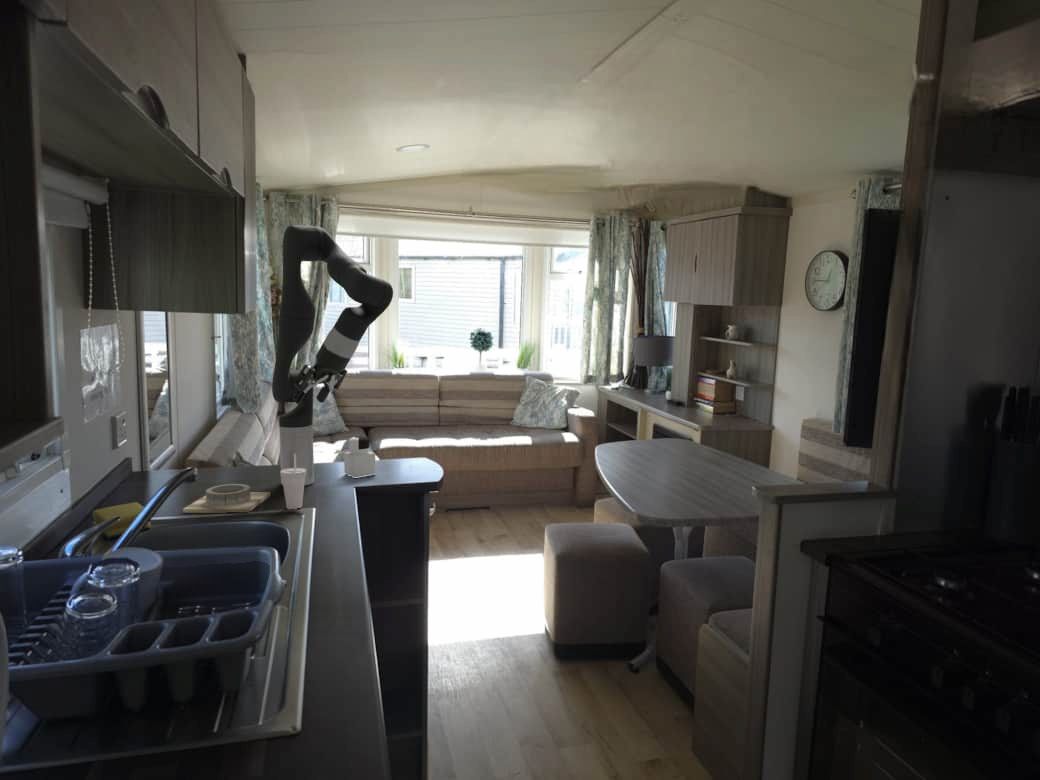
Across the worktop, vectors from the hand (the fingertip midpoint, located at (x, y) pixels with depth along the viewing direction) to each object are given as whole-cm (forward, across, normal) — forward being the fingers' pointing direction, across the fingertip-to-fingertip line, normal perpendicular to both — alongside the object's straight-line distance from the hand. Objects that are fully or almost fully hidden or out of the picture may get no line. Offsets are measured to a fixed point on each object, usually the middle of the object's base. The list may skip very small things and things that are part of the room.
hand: (307, 401), depth 167 cm
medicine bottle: (+27, -38, +4) cm, 47 cm away
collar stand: (+36, +2, -4) cm, 36 cm away
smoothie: (+26, -2, +11) cm, 28 cm away
